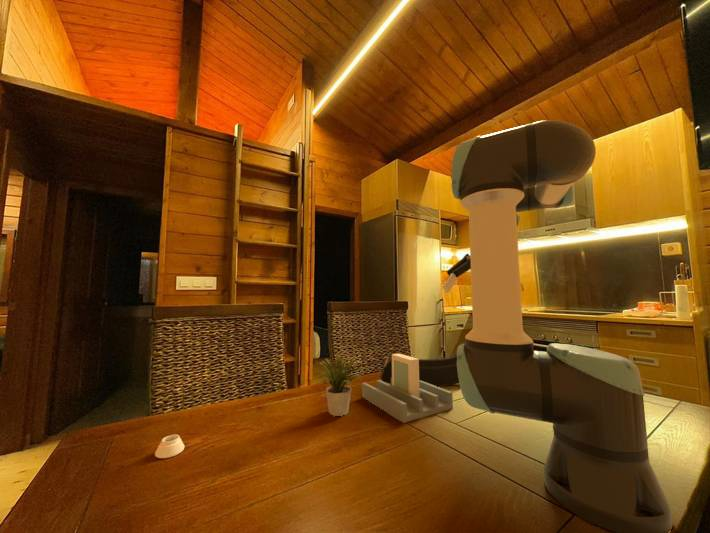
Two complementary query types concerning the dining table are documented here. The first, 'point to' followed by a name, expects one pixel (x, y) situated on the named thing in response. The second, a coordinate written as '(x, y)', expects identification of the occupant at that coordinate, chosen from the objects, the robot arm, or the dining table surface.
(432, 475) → the dining table surface
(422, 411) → the notched rack
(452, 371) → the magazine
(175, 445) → the upturned cream bowl
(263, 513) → the dining table surface
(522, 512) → the dining table surface
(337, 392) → the house plant
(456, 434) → the dining table surface
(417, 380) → the picture frame
